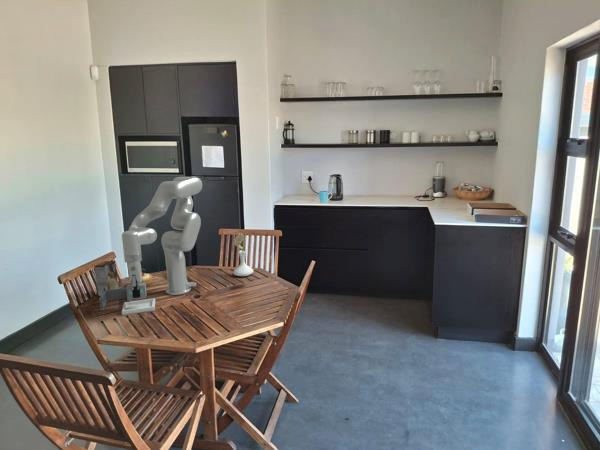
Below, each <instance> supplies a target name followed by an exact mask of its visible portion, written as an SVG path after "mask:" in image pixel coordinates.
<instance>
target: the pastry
mask: <svg viewBox="0 0 600 450" xmlns="http://www.w3.org/2000/svg"><path fill="white" fill-rule="evenodd" d="M142 270H143V268H141V271H142ZM144 271H146V269H144ZM153 280H154V278H153V275H152V274H151V273H146V272H143V271H142V282H141V283H143V282H145V284H146V287H149V286H151V285H152V283H153ZM129 284H131V283H130V282H129Z"/></svg>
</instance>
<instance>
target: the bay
mask: <svg viewBox="0 0 600 450" xmlns="http://www.w3.org/2000/svg"><path fill="white" fill-rule="evenodd" d="M121 299H122V300H123V299H126V300H127V301H126V302H130V301H133V300H128V298H127V289H126V287H121V288H120V287H119V289H111V290H106V291H103V292H102V294H101V296H99V299H98V301H99V308H100V309H99V310H101V309H103V310H104V308H105V307H106V303H107V301H113V300H121Z"/></svg>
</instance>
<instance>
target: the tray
mask: <svg viewBox="0 0 600 450" xmlns="http://www.w3.org/2000/svg"><path fill="white" fill-rule="evenodd" d="M155 310H156V298H155V297H154V298H144V299H140V300H139V299H137V300H132V301H130V302H128V301H124V302H123V305H122V309H121V316H122V317H123V316H127V315H128V316H129V315H136V314H143V313H149V312H151V313H152V312H155Z"/></svg>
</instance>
